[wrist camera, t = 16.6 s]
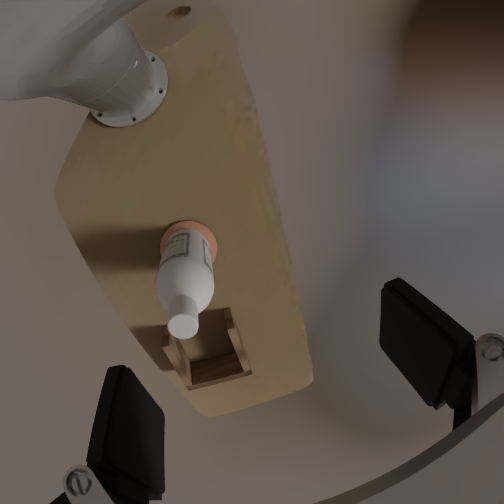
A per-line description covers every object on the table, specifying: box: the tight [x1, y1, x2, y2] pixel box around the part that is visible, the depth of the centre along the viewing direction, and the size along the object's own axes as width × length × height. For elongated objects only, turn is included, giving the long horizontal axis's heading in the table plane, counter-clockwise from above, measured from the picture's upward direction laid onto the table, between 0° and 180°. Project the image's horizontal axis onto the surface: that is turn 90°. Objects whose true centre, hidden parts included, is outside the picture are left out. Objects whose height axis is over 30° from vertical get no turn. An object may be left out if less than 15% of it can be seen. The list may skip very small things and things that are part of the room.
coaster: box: [160, 220, 217, 264], centre depth 42 cm, size 9×9×1 cm
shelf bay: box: [162, 308, 252, 390], centre depth 47 cm, size 12×12×6 cm
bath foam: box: [155, 229, 214, 339], centre depth 33 cm, size 7×7×20 cm
